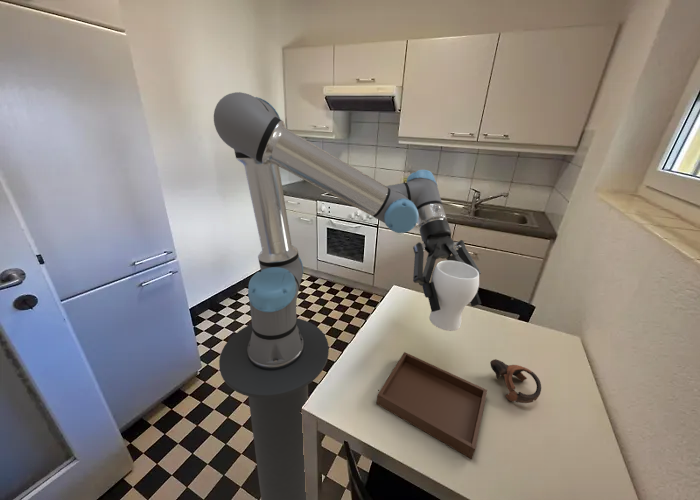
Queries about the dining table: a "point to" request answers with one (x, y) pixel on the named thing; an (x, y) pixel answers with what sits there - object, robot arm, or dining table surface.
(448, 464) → the dining table surface
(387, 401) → the tray
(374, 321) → the dining table surface
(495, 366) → the brown curled loop
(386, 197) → the robot arm
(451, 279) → the cup
